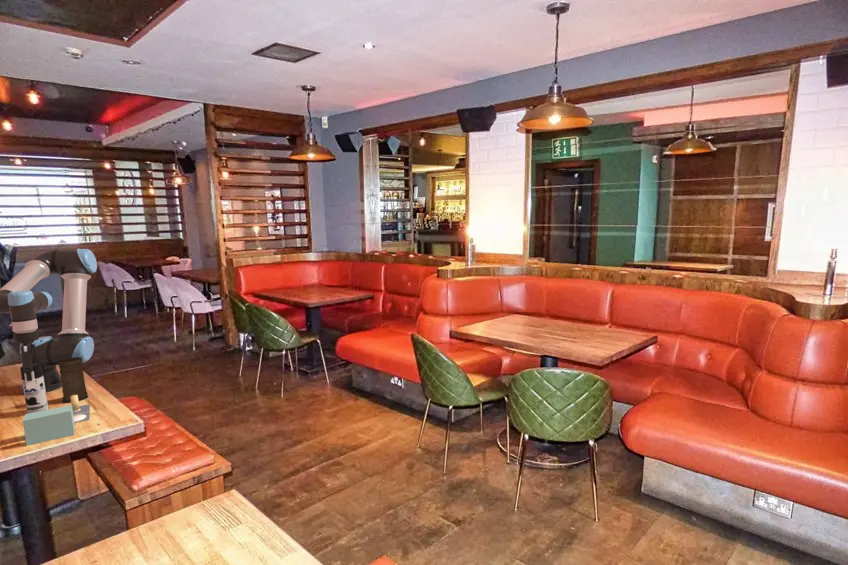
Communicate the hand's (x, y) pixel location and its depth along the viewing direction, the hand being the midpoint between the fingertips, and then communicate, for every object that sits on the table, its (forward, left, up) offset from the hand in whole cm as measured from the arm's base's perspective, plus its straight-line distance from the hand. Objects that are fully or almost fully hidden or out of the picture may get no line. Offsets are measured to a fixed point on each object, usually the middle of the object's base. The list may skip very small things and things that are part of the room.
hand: (33, 383), depth 186 cm
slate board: (+13, +9, -12) cm, 20 cm away
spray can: (0, 0, -13) cm, 13 cm away
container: (-7, +12, -13) cm, 19 cm away
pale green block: (+29, +6, -12) cm, 32 cm away
